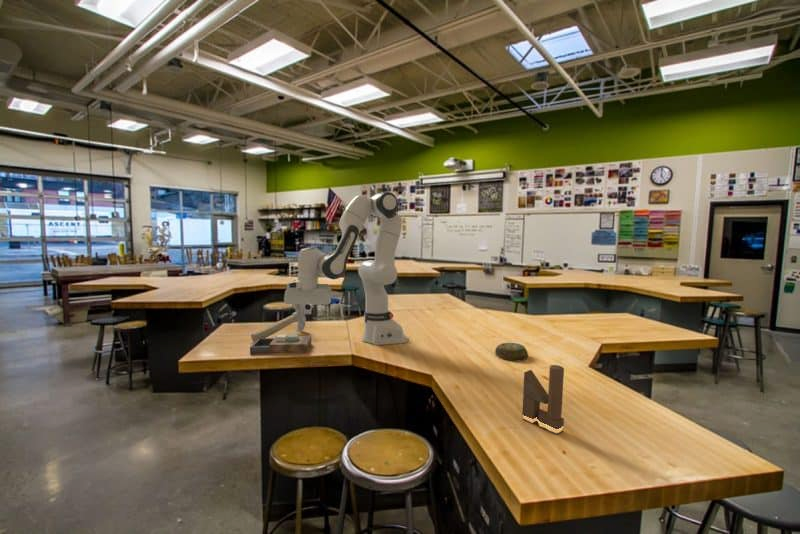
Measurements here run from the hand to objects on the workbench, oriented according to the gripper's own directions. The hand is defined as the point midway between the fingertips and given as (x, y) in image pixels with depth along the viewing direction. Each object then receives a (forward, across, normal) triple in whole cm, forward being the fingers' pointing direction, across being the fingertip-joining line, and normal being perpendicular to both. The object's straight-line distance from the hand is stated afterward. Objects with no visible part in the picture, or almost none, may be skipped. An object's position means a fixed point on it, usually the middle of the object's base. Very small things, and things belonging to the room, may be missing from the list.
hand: (307, 314), depth 168 cm
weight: (+15, -90, +14) cm, 92 cm away
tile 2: (+12, +6, 0) cm, 14 cm away
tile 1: (+12, +11, 0) cm, 17 cm away
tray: (+16, +19, 0) cm, 25 cm away
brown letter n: (+15, -77, +71) cm, 106 cm away
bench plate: (+16, +7, 0) cm, 18 cm away
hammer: (+16, +17, -20) cm, 31 cm away
